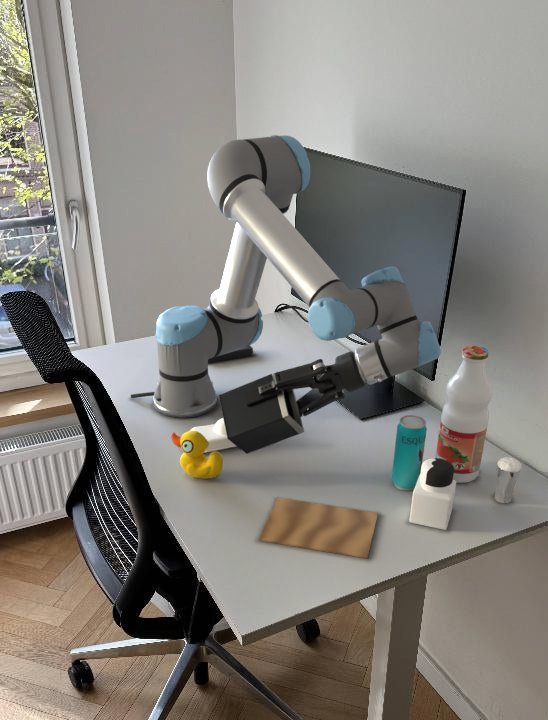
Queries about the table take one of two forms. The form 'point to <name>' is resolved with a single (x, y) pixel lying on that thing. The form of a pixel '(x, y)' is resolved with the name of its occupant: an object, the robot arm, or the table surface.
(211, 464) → the duckling
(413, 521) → the medicine bottle
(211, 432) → the white piece
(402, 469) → the beverage can
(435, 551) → the table surface
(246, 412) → the desk bin
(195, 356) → the robot arm
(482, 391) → the fruit juice
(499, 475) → the milkshake
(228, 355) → the multiport hub
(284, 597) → the table surface
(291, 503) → the wooden board
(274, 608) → the table surface
